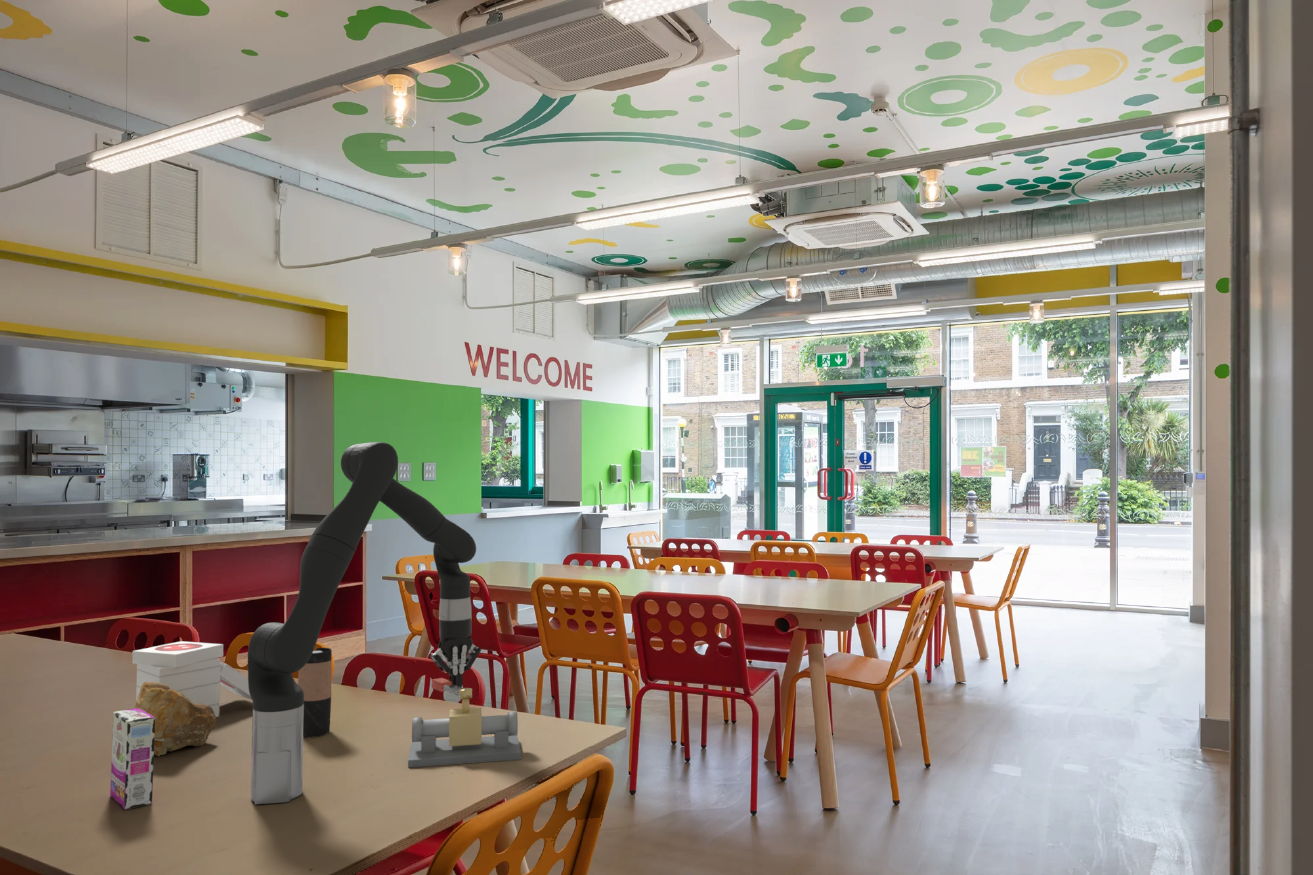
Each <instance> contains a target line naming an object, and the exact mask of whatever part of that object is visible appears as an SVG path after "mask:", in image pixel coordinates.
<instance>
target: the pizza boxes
mask: <svg viewBox="0 0 1313 875" xmlns="http://www.w3.org/2000/svg"><path fill="white" fill-rule="evenodd" d="M131 656H132V663H131V664H132V665H135V664H136V692H135V694H136V696H135V698H136V699H135V702H136V701H137V698H138V695H139V692H140V689H141V686H142V684H143V683H145V682H156V683H160V684H163V685H167V686H169V688H170V689H173V690H175V691H177V692H180V693H182V694H183V695H185V697H186V698H188V699H189V700H190V701H191V702H192V703H193V704H194V703H197V704H202V705H209V706H210V707H211V708H212V709H213V711H214V713H215V716H216V718H218V717H220V701H221V700H220V699H221V698H220V696H221V694H220V693H221V692H220V691H221V690H220V689H221V686H223V687H225V688H226V689H227V690H229V691H230V692H232V693H234V694H235V695H236V696H240V697H243V698H245V699H248V700H250V701H252V698H251V696H250V693H249V687H248V676H245V675H243V673H241V672H239V671H238V670H236V669H235V668H234V667H232V666H231V665H229V664H227V663H225V662H222V661H221V659H220V658H222V657H224V644H223V643H210V642H197V641H196V642H195V641H182V640H181V641H176V642H170V643H165V644H160V645H157V646H156V645H155V646H151V647H148V648H141V649H136V650H133V651H132V655H131Z"/></svg>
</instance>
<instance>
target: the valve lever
mask: <svg viewBox="0 0 1313 875" xmlns="http://www.w3.org/2000/svg"><path fill="white" fill-rule="evenodd" d="M431 688H432V689H433V690H436V691H438V692H441V693H443V692H448V693H450V694H452V695H455V696H457V697H459V699H461V700H462V699H469V700H470V699H472V698H473V688H471V687H459V686H456V685H453V684H452V681H449V679H446V678H444V677H439V678H433V679H431Z"/></svg>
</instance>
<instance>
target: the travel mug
mask: <svg viewBox="0 0 1313 875" xmlns="http://www.w3.org/2000/svg"><path fill="white" fill-rule="evenodd" d="M332 653H333V652H332V648H329V647H317V648H316V649H314V650H313V653H312V655H311V657H310V659H309V660H308V662H307V663H306V664H305V665H304V667H302V668H301V669H300V670H298V678H297V680H298V681H297V682H298V683H297V684H298V685H299V686H300V687H301V688H302V690H303V692H304V717H303V738H316V737H322V736H326V735H327V734H329V733H330V728H331V713H332V712H331V709H332V708H331V707H332V664H333V663H332V655H333V654H332ZM325 734H326V735H325Z"/></svg>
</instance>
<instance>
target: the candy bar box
mask: <svg viewBox="0 0 1313 875" xmlns="http://www.w3.org/2000/svg"><path fill="white" fill-rule="evenodd" d="M112 713H113V714H112V717H113V718H112V737H111V738H112V742H111V763H110V764H111V767H110V768H111V769H110V770H111V771H110V788H109V789H110V792H109V794H110V795H109V796H110V798H112V797H113V798H112V799H113V800H114V799H115V800H114V801H115V802H116V801H117V802H118V803H117V802H116V803H117V804H118V805H120V806H121V808H122V809H124V810H127V811H128V810H131V809H135V808H140V807H144V806H145V805H146V806H148V805H152V804H153V789H154V788H153V785H154V760H155V759H154V756H155V754H154V739H155V738H154V737H155V717H153V716H152V715H150V714H148V713H147V712H145V711H143V710H142V709H140V708H135V707H134V708H128V709H122V710H117V711H113V712H112Z"/></svg>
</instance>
